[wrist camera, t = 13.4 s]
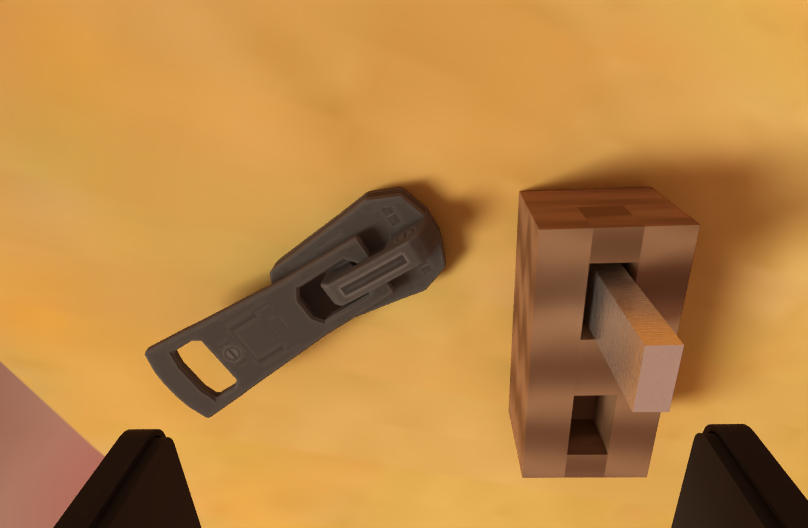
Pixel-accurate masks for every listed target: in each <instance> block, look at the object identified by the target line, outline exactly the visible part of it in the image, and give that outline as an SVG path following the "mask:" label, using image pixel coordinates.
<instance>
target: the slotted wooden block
mask: <svg viewBox="0 0 808 528" xmlns="http://www.w3.org/2000/svg"><path fill="white" fill-rule="evenodd" d="M699 229H700V224H699V223H697V222H696V221H695V220H693V219H692V218H691V217H689V216H688V215H687V214H685V213H684V212H683V211H682V210H680V209H679V208H678V207H676V206H675V205H674V204H672V203H671V202H670V201H669V200H667V199H666V198H665V197H663V196H662V195H661V194H659V193H658V192H657V191H655V190H654V189H653V188H652V187H633V188H605V189H576V190H548V191H520V192H519V209H518V230H517V250H516V271H515V292H514V312H513V333H512V354H511V374H510V395H509V414H510V419H511V424H512V429H513V434H514V439H515V444H516V448H517V453H518V458H519V463H520V468H521V473H522V478H557V477H647V474H648V469H649V464H650V460H651V455H652V450H653V446H654V441H655V436H656V431H657V427H658V422H659V417H660V413H661V412H632V410H631V408H630V406H629V404H628V402H627V400H626V398H625V396H624V394H623V392H622V391H621V389H620V387H619V385H618V383H617V381H616V379H615V377H614V375H613V373H612V371H611V369H610V367H609V365H608V363H607V362H606V360H605V358H604V356H603V354H602V352H601V350H600V348H599V346H598V344H597V342H596V340H595V338H594V336H593V334H592V333H591V331H590V329H589V327H588V325H587V323H586V321H585V319H584V317H583V313H584V305H585V296H586V288H587V279H588V271H589V264H590V263H621V265H622V266H623V267H624V268H625V270H626V271H627V272H628V274H629V275H630V276H631V277H632V279H633V280H634V281H635V283H636V284H637V285H638V286H639V288H640V289H641V290H642V292H643V293H644V294H645V295H646V297H647V298H648V299H649V301H650V302H651V303H652V304H653V306H654V307H655V308H656V310H657V311H658V312H659V313H660V315H661V316H662V317H663V319H664V320H665V321H666V322H667V324H668V325H669V326H670V328H671V329H672V330H673V331H674V333H675V334H676V335H677V332H678V328H679V323H680V318H681V314H682V309H683V304H684V299H685V295H686V290H687V285H688V281H689V276H690V271H691V266H692V262H693V257H694V252H695V248H696V243H697V238H698V233H699Z"/></svg>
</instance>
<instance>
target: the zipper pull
mask: <svg viewBox="0 0 808 528" xmlns="http://www.w3.org/2000/svg"><path fill="white" fill-rule="evenodd" d="M445 266H446V263H445V252H444V248H443V243H442V238H441V233H440V229H439V227H438V225H437V223H436V222H435V220H434V219H433V217H432V215H431V214H430V212H429V211H428V209H427V207H426V206H424V205H423V204H422V203H421V202H419V201H418V200H417V199H416V198H415V197H413V196H412V195H411V194H410V193H408V192H407V191H406V190H405V189H403V188H402V187H398V188H391V189H384V190H377V191H369V192H367V193H365V194H364V195H363V196H362V197H360V198H359V199H358V200H357V201H355V202H354V203H353V204H351V205H350V206H349V207H348V208H346V209H345V210H344V211H343V212H341V213H340V214H339V215H337V216H336V217H335V218H333V219H332V220H331V221H329V222H328V223H327V224H325V225H324V226H323V227H321V228H320V229H319V230H317V231H316V232H315V233H313V234H312V235H311V236H309V237H308V238H307V239H305V240H304V241H303V242H301V243H300V244H299V245H297V246H296V247H295V248H293V249H292V250H291V251H289V252H288V253H287V254H285V255H284V256H283V257H282V258H280V259H279V260H278V261H277V262H276V264H275V265H274V267H273V269H272V270H271V272H270V277H271V283H272V284H271V285H269V286H267V287H265V288H263V289H261V290H259V291H257V292H255V293H253V294H251V295H249V296H247V297H246V298H244V299H242V300H240V301H238V302H236V303H234V304H232V305H230V306H228V307H226V308H224V309H222V310H220V311H219V312H217V313H215V314H213V315H211V316H209V317H207V318H205V319H203V320H201V321H199V322H197V323H195V324H193V325H191V326H189V327H187V328H185V329H183V330H181V331H179V332H177V333H175V334H173V335H171V336H169V337H168V338H166V339H164V340H162V341H160V342H158V343H156V344H154V345H152V346H150V347H149V348H148V349H147V350H146V352H145V356H146V358H147V359H148V361H149V363H150V365H151V367H152V368H153V370H154V372H155V373H156V374H157V376H158V377H159V378H160V379H161V381H162V382H163V383H164V384H165V385H166V386H167V387H168V388H169V389H170V390H171V391H172V392H173V393H174V394H175V395H176V396H177V397H178V398H179V399H180V400H181V401H183V402H184V403H185V404H186V405H187V406H188V407H190V408H192V409H193V410H195V411H196V412H198V413H200V414H201V415H203V416H205V417H207V418H209V417H211V416H213V415H214V414H216V413H217V412H218V411H220V410H221V409H223V408H224V407H226V406H227V405H228V404H230V403H231V402H233V401H234V400H236V399H237V398H238V397H240V396H241V395H243V394H244V393H245V392H247V391H248V390H249V389H250V388H252V387H253V386H255V385H256V384H258V383H259V382H260V381H262V380H263V379H265V378H266V377H267V376H269V375H270V374H272V373H273V372H274V371H276V370H277V369H279V368H280V367H282V366H283V365H284V364H286V363H287V362H289V361H290V360H291V359H293V358H294V357H296V356H297V355H298V354H300V353H301V352H303V351H304V350H306V349H307V348H308V347H310V346H311V345H313V344H314V343H315V342H317V341H318V340H320V339H321V338H322V337H324V336H325V335H327V334H328V333H330V332H332V331H333V330H335V329H336V328H338V327H340V326H341V325H343V324H344V323H346V322H348V321H349V320H351V319H353V318H354V317H357V316H359V315H362V314H364V313H367V312H369V311H372V310H375V309H377V308H380V307H382V306H385V305H387V304H390V303H392V302H395V301H398V300H400V299H403V298H406V297H408V296H411V295H414V294H416V293H419V292H422V291H424V290H426V289H427V288H428V287H429V285H430V284H431V283H432V282H433V281H434V279H435V278H436V277H437V276H438V275H439V274H440V272H441V271H442V270H443V269H444V268H445ZM190 341H202V342H203V343H204V344H205V345H206V346H207V347H208V349H209V350H210V351H211V352H212V353H213V354H214V355H215V356H216V357H217V358H218V360H219V361H220V362H221V363H222V364H223V365H224V366H225V367H226V368H227V369H228V370H229V372H230V373H231V374H232V375H233V376H234V377H235V378H236V379H237V381H236V383H235V384H233V385H232V386H230V387H228V388H227V389H225V390H223V391H222V392H215V391H214V390H212V389H211V388H209V387H208V386H206V385H205V384H204V383H203V382H202V381H201V380H200V379H199V378H198V377H197V376H196V374H195V373H194V372H193V371H192V370H191V369H190V368H189V367H188V366H187V365H186V364H185V363H184V362H183V360H182V358H181V357H180V355H179V353H178V351H177V349H179V348H180V347H182V346H184V345H185V344H187V343H189V342H190Z"/></svg>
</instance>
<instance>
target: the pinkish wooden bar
mask: <svg viewBox="0 0 808 528" xmlns="http://www.w3.org/2000/svg"><path fill="white" fill-rule="evenodd" d="M583 317H584V319H585V321H586V323H587V325H588V327H589V329H590V331H591V333H592V334H593V336H594V338H595V340H596V342H597V344H598V346H599V348H600V350H601V352H602V354H603V356H604V358H605V360H606V362H607V363H608V365H609V367H610V369H611V371H612V373H613V375H614V377H615V379H616V381H617V383H618V385H619V387H620V389H621V391H622V392H623V394H624V396H625V398H626V400H627V402H628V404H629V406H630V408H631V410H632V412H669V410H670V406H671V401H672V397H673V392H674V388H675V384H676V379H677V375H678V370H679V366H680V361H681V357H682V352H683V348H684V344H683V343H682V342H681V340H680V339H679V338H678V336H677V335H676V334H675V333H674V331H673V330H672V329H671V328H670V326H669V325H668V324H667V322H666V321H665V320H664V319H663V317H662V316H661V315H660V313H659V312H658V311H657V310H656V308H655V307H654V306H653V304H652V303H651V302H650V301H649V299H648V298H647V297H646V295H645V294H644V293H643V292H642V290H641V289H640V288H639V286H638V285H637V284H636V283H635V281H634V280H633V279H632V277H631V276H630V275H629V274H628V272H627V271H626V270H625V268H624V267H623V266H622V265H621V263H590V264H589V271H588V279H587V288H586V296H585V305H584V313H583Z"/></svg>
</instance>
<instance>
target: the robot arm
mask: <svg viewBox="0 0 808 528" xmlns="http://www.w3.org/2000/svg"><path fill="white" fill-rule="evenodd" d="M54 528H201V525H200V522H199V519H198V516H197V513H196V510H195V507H194V503H193V500H192V497H191V494H190V491H189V488H188V485H187V482H186V479H185V476H184V472H183V469H182V466H181V463H180V460H179V457H178V454H177V451H176V448H175V445H174V442H173V440H172V439H171V438H170V437H166V436H165V434H164V432H163V431H162V430H160V429H132V430H127V431H125V432H124V433H123V434H122V435H121V436H120V437H119V438H118V440H117V441H116V443H115V444H114V445H113V447H112V448H111V449H110V451H109V452H108V454H107V455H106V456H105V458H104V459H103V460H102V462H101V463H100V465H99V466H98V467H97V469H96V470H95V471H94V473H93V474H92V476H91V477H90V478H89V480H88V481H87V482H86V484H85V485H84V486H83V488H82V489H81V490H80V492H79V493H78V495H77V496H76V497H75V499H74V500H73V501H72V503H71V504H70V506H69V507H68V508H67V510H66V511H65V512H64V514H63V515H62V516H61V518H60V519H59V521H58V522H57V523H56V525H55V526H54ZM671 528H808V500H807V499H806V498H805V496H804V495H803V494H802V492H801V491H800V490H799V489H798V487H797V486H796V485H795V483H794V482H793V481H792V480H791V478H790V477H789V476H788V475H787V473H786V472H785V471H784V469H783V468H782V467H781V466H780V464H779V463H778V462H777V461H776V459H775V458H774V457H773V455H772V454H771V453H770V452H769V450H768V449H767V448H766V447H765V445H764V444H763V443H762V441H761V440H760V439H759V438H758V436H757V435H756V434H755V432H754V431H753V430H752V429H751V428H750V427H749V426H747V425H745V424H710V425H707V426H706V427H705V429H704V431H703V433H698V434H696V435H695V438H694V441H693V445H692V449H691V453H690V457H689V461H688V464H687V468H686V472H685V476H684V480H683V484H682V488H681V492H680V496H679V500H678V504H677V507H676V511H675V515H674V519H673V523H672V527H671Z"/></svg>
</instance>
